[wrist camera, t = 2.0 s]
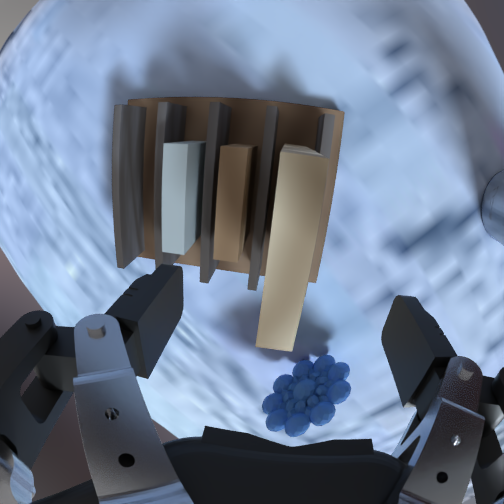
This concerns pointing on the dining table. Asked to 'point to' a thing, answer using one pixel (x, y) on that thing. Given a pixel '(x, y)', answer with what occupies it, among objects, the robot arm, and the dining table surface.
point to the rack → (211, 172)
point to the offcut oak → (234, 200)
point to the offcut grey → (182, 194)
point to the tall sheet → (291, 244)
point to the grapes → (307, 395)
